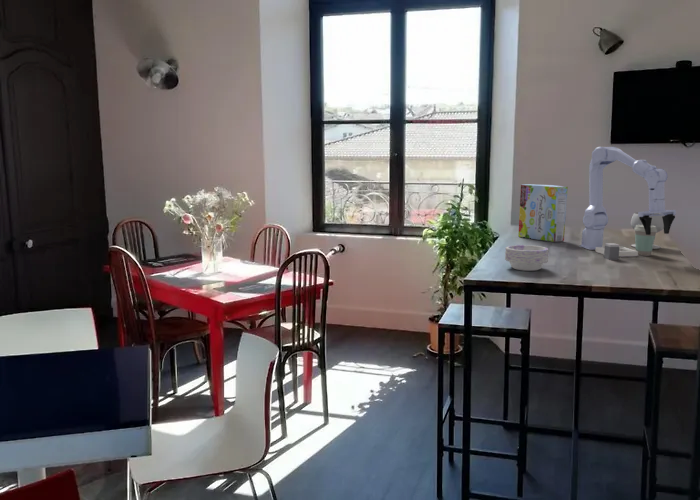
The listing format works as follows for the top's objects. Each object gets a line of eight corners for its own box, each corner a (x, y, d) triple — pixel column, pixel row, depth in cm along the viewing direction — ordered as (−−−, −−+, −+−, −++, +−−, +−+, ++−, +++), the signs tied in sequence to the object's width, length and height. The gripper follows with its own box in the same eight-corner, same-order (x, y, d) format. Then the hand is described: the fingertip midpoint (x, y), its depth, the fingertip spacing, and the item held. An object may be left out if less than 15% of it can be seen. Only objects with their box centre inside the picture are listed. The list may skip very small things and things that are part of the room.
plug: (603, 258, 260) (604, 243, 259) (613, 257, 260) (614, 243, 259) (609, 259, 256) (610, 244, 255) (618, 259, 256) (619, 244, 255)
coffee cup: (657, 256, 263) (659, 227, 261) (634, 255, 265) (637, 226, 263) (651, 253, 271) (654, 224, 269) (630, 252, 273) (632, 224, 271)
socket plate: (595, 251, 275) (595, 246, 274) (622, 251, 276) (622, 246, 276) (610, 256, 263) (610, 251, 262) (637, 256, 264) (638, 250, 264)
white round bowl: (515, 263, 248) (516, 242, 247) (554, 268, 238) (555, 247, 237) (497, 269, 236) (498, 247, 235) (537, 274, 227) (538, 252, 226)
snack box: (565, 241, 302) (569, 186, 297) (553, 243, 297) (556, 186, 293) (528, 235, 319) (531, 183, 315) (516, 237, 315) (519, 183, 310)
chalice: (625, 244, 294) (628, 211, 292) (658, 245, 292) (661, 212, 289) (632, 249, 281) (635, 215, 278) (667, 250, 278) (670, 215, 276)
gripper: (644, 200, 250) (645, 235, 251) (680, 198, 251) (680, 233, 252) (635, 200, 257) (635, 234, 258) (669, 198, 258) (670, 232, 259)
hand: (657, 234), depth 256 cm, fingers open, 7 cm apart
